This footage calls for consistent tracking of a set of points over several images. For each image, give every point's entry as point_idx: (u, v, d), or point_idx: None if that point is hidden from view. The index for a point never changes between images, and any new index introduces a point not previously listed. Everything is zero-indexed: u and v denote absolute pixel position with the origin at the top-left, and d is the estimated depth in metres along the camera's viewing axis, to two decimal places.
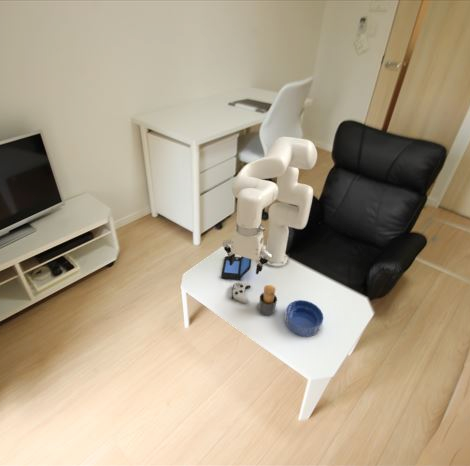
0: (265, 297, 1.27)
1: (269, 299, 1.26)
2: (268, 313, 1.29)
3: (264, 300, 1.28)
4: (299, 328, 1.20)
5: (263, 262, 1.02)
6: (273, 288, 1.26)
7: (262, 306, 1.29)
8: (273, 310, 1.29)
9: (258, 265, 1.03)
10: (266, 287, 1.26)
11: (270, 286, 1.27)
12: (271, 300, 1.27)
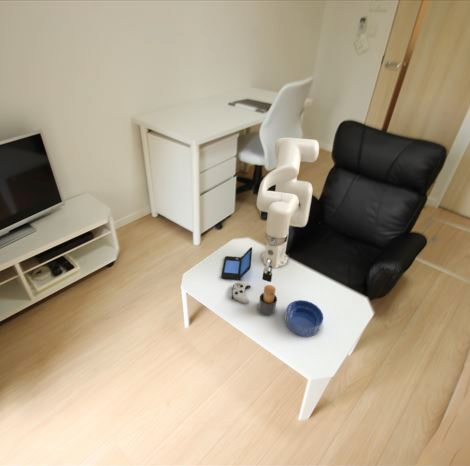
0: (265, 297, 1.27)
1: (269, 299, 1.26)
2: (268, 313, 1.29)
3: (264, 300, 1.28)
4: (299, 328, 1.20)
5: None
6: (273, 288, 1.26)
7: (262, 306, 1.29)
8: (273, 310, 1.29)
9: (264, 271, 1.14)
10: (266, 287, 1.26)
11: (270, 286, 1.27)
12: (271, 300, 1.27)
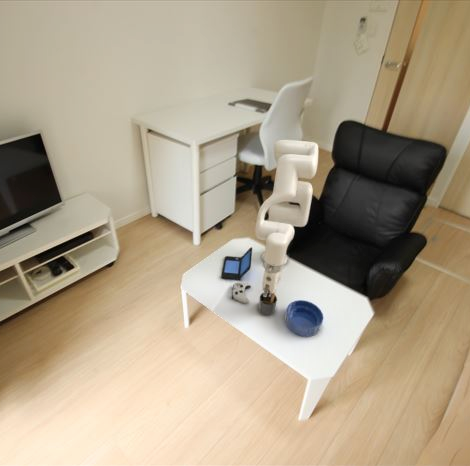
0: None
1: None
2: (268, 313, 1.29)
3: None
4: (299, 328, 1.20)
5: None
6: None
7: (262, 306, 1.29)
8: (273, 310, 1.29)
9: (264, 293, 1.25)
10: None
11: None
12: (271, 300, 1.27)
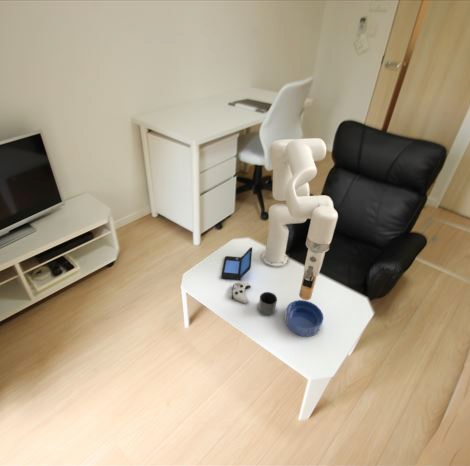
0: None
1: None
2: (268, 313, 1.29)
3: None
4: (299, 328, 1.20)
5: (306, 277, 1.09)
6: None
7: (262, 306, 1.29)
8: (273, 310, 1.29)
9: (304, 277, 1.11)
10: None
11: None
12: (312, 285, 1.13)
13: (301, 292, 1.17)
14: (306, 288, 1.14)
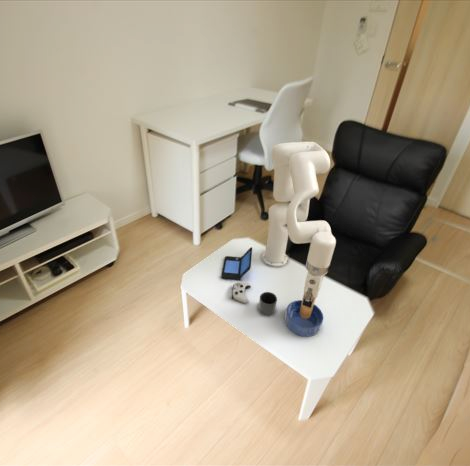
0: None
1: None
2: (268, 313, 1.29)
3: (303, 305, 1.19)
4: (299, 328, 1.20)
5: (306, 297, 1.14)
6: None
7: (262, 306, 1.29)
8: (273, 310, 1.29)
9: (304, 297, 1.16)
10: None
11: None
12: None
13: (301, 311, 1.22)
14: (306, 307, 1.19)
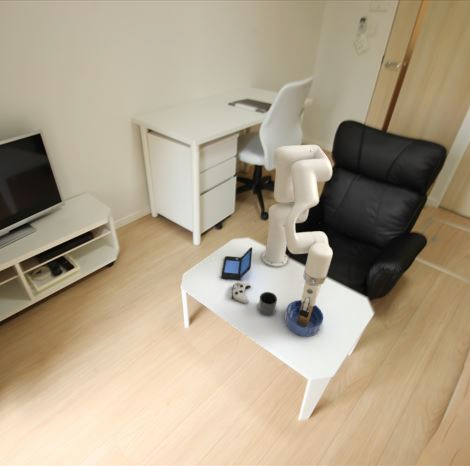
0: None
1: None
2: (268, 313, 1.29)
3: None
4: (299, 328, 1.20)
5: (302, 308, 1.14)
6: None
7: (262, 306, 1.29)
8: (273, 310, 1.29)
9: (301, 308, 1.16)
10: None
11: None
12: (309, 314, 1.21)
13: (299, 319, 1.25)
14: None
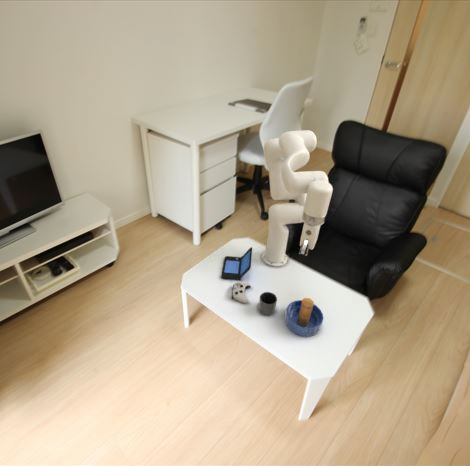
0: (303, 310, 1.21)
1: (307, 313, 1.20)
2: (268, 313, 1.29)
3: (301, 313, 1.22)
4: (299, 328, 1.20)
5: None
6: (311, 301, 1.20)
7: (262, 306, 1.29)
8: (273, 310, 1.29)
9: (299, 252, 1.13)
10: (304, 300, 1.21)
11: (308, 299, 1.21)
12: (309, 314, 1.21)
13: (299, 319, 1.25)
14: (303, 316, 1.22)
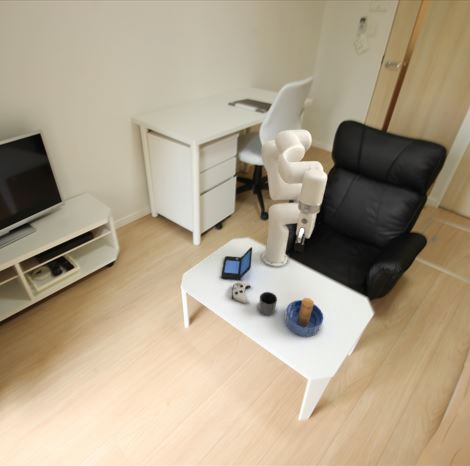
0: (303, 310, 1.21)
1: (307, 313, 1.20)
2: (268, 313, 1.29)
3: (301, 313, 1.22)
4: (299, 328, 1.20)
5: (297, 240, 1.13)
6: (311, 301, 1.20)
7: (262, 306, 1.29)
8: (273, 310, 1.29)
9: (296, 241, 1.15)
10: (304, 300, 1.21)
11: (308, 299, 1.21)
12: (309, 314, 1.21)
13: (299, 319, 1.25)
14: (303, 316, 1.22)
